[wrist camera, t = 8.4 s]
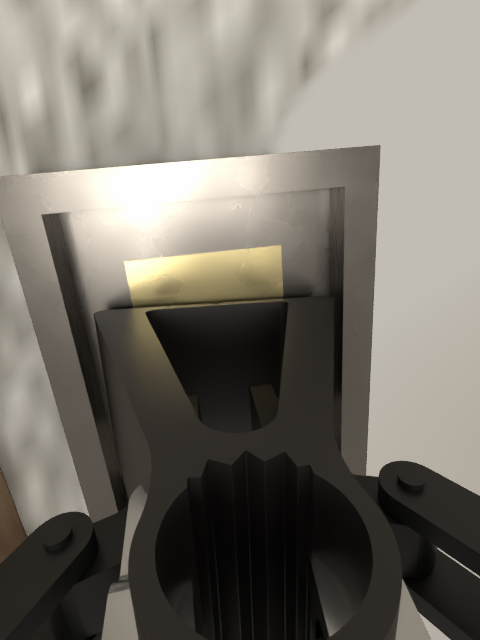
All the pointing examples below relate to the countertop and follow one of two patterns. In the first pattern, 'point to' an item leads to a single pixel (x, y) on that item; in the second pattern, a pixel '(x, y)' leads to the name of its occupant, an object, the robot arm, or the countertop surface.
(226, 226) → the silver shallow tray
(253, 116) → the countertop surface
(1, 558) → the door-edge rail
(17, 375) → the countertop surface
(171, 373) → the phone stand
